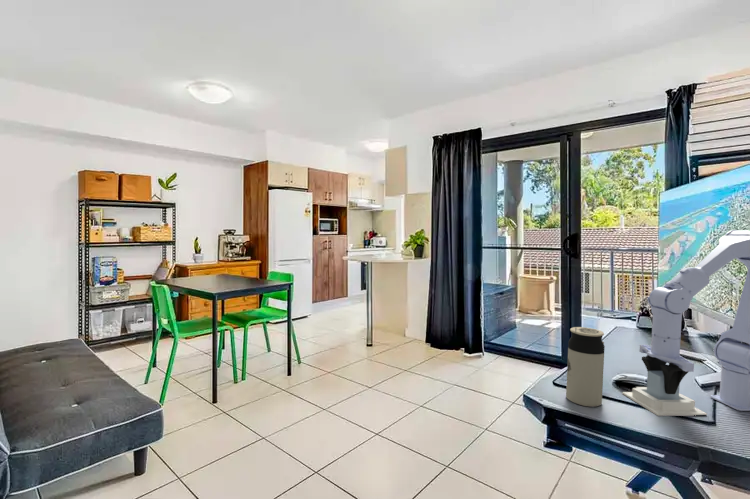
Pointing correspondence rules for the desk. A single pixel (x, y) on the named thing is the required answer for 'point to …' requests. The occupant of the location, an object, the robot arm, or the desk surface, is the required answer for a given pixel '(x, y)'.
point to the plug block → (659, 386)
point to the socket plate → (664, 404)
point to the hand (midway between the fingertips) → (662, 389)
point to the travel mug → (585, 366)
